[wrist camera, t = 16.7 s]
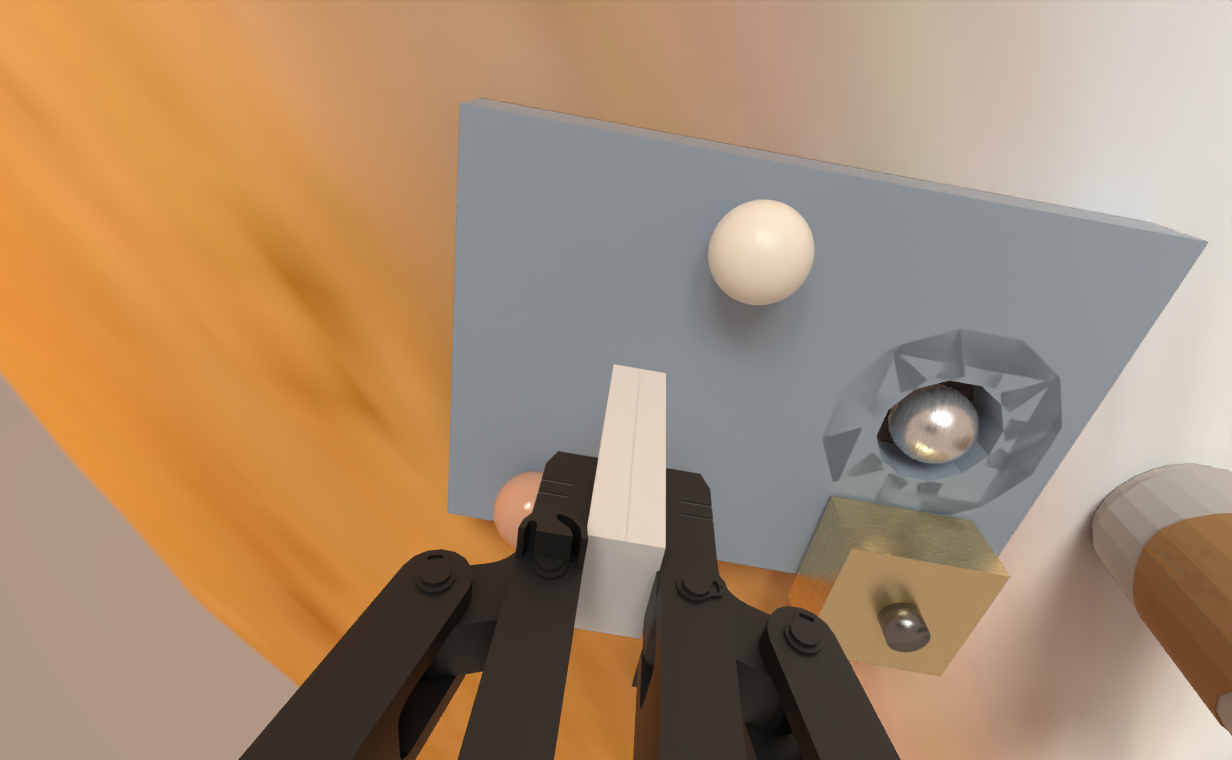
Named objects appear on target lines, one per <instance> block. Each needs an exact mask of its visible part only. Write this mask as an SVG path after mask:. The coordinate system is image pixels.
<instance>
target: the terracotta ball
mask: <svg viewBox="0 0 1232 760" xmlns="http://www.w3.org/2000/svg"><path fill="white" fill-rule="evenodd" d="M542 476H543V472H540V471H528V472H523V473H520V474H518V475H516V476H514V477H512V478H511V479H510V480H508V481H507V482H506V483H505V484H504V485H503V486H502V488H501V489H500V491H499V492H498V494H497V496H496V499H495V502H494V508H493V517H494V523H495V526H496V528H497V530H498V532H499V534H500V535H501V537H502V538H503V539H504V540H505V541H506V542H507V543H508V544H510V545H511V546H513V547H514V548H516V546H517V535H518V527H519V526H520V524H521V522H522V520H523V519H524V518H525V517H527V516H528V515H529V514H531V513H532V511H533V507H534V504H535V500H536V497H537V494H538V490H539V486H540V483H541V480H542Z"/></svg>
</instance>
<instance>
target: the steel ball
mask: <svg viewBox="0 0 1232 760" xmlns="http://www.w3.org/2000/svg"><path fill="white" fill-rule="evenodd" d="M888 427H889V432H890V435H891V437H892V440H893V441H894V443H895V444H896V446H897V447H898V448H899V449H900V450H901V451H902V452H903V453H904V454H906V455H907V456H909V457H910V458H912V459H915V460H917V461H920V462H924V463H929V464H941V463H947V462H950V461H953V460H956V459H958V458H960V457H961V456H963V455H964V454H965V453H966V452H968V450H969V449H970V448H971V447H972V446H973V444H974V442H975V441H976V438H977V436H978V431H979V419H978V415H977V412H976V410H975V408H974V406H973V404H972V403H971V402H970V400H969V399H968V398H967V397H966V396H965V395H963V394H962V393H961V392H959V391H958V390H956V389H954V388H951V387H949V386H945V385H941V384H934V385H930V386H926V387H922V388H918V389H915V390H914V391H912V392H911V393H910V394H908V395H907V396H906V397H904V398H903V399H902V400H901V401H899V402H898V403H897V404H895V405H894V406H893V407H891V410H890V413H889V417H888Z"/></svg>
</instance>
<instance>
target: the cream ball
mask: <svg viewBox="0 0 1232 760" xmlns="http://www.w3.org/2000/svg"><path fill="white" fill-rule="evenodd" d="M814 254H815V250H814V239H813V235H812V232H811V230H810V228H809V226H808V224H807V222H806V221H805V219H804V218H803V217H802V216H801V215H800V213H798V212H797V211H796V210H795V209H793V208H792V207H790V206H788V205H787V204H784V203H782V202H779V201H775V200H753V201H749V202H746V203H743V204H741V205H739V206H737V207H735V208H734V209H732V210H731V211H730V212H728V213H727V214H726V215H725V216H724V217H723V218H722V219H721V221H720V222H719V223H718V225H717V226H716V228H715V229H714V232H713V234H712V236H711V239H710V242H709V248H708V262H709V267H710V271H711V273H712V276H713V278H714V280H715V282H716V283H717V285H718V286H719V287H720V288H721V289H722V290H723V291H724V292H725V293H726V294H727V295H728V296H730V297H731V298H733V299H735V300H737V301H739V302H742V303H745V304H749V305H768V304H772V303H776V302H779V301H781V300H783V299H785V298H787V297H788V296H790V295H791V294H793V293H794V292H795V291H796V290H797V289H798V288H799V287H800V286H801V285H802V284H803V282H804V281H805V280H806V278H807V276H808V274H809V272H810V270H811V267H812V264H813V261H814Z"/></svg>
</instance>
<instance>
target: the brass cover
mask: <svg viewBox="0 0 1232 760" xmlns="http://www.w3.org/2000/svg"><path fill="white" fill-rule="evenodd" d="M1009 578H1010V575H1009V574H1008V572H1007V571H1006V569H1005V568H1004V566H1003V565H1002V563H1001V562H1000V560H999V559H998V557H997V556H996V554H995V553H994V551H993V550H992V548H991V547H990V545H989V544H988V542H987V541H986V539H985V538H984V536H983V535H982V533H981V532H980V530H979V529H978V527H977V526H976V524H975V523H974V521H972V520H966V519H960V518H955V517H949V516H944V515H938V514H932V513H927V512H921V511H915V510H910V509H904V508H898V507H893V506H887V505H882V504H876V503H870V502H865V501H859V500H853V499H848V498H842V497H836V496H831V498H830V500H829V502H828V505H827V507H826V509H825V511H824V514H823V516H822V518H821V520H820V523H819V525H818V527H817V529H816V532H815V534H814V536H813V538H812V541H811V543H810V545H809V547H808V550H807V552H806V554H805V556H804V559H803V561H802V563H801V565H800V568H799V570H798V572H797V574H796V577H795V579H794V581H793V583H792V585H791V588H790V590H789V592H788V594H787V595H788V599H789V603H790V606H792V607H799V608H803V609H805V610H807V611H810V612H812V613H814V614H815V615H817V616H818V617H819V618H820V619H822V620H823V621H824V622H825V623H827V625H828V626H829V628H830V629H831V630H832V632H833V633H834V634H835V636H836V638H837V640H838V642H839V644H840V645H841V647H842V649H843V651H844V653H845V655H846V657H847V659H848V660H850V661H856V662H862V663H868V664H873V665H879V666H885V667H891V668H896V669H902V670H908V671H914V672H920V673H925V674H931V675H937V676H941V675H942V673H943V672H944V670H945V669H946V668H947V666H948V665H949V663H950V662H951V661H952V659H953V658H954V656H955V655H956V653H957V652H958V651H959V649H960V648H961V646H962V645H963V643H964V642H965V641H966V639H967V638H968V636H969V635H970V633H971V632H972V631H973V629H974V628H975V626H976V625H977V623H978V622H979V621H980V619H981V618H982V616H983V615H984V613H985V612H986V611H987V609H988V608H989V606H990V605H991V603H992V602H993V601H994V599H995V598H996V596H997V595H998V593H999V592H1000V591H1001V589H1002V588H1003V586H1004V585H1005V583H1006V582H1007V581H1008V579H1009Z"/></svg>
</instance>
